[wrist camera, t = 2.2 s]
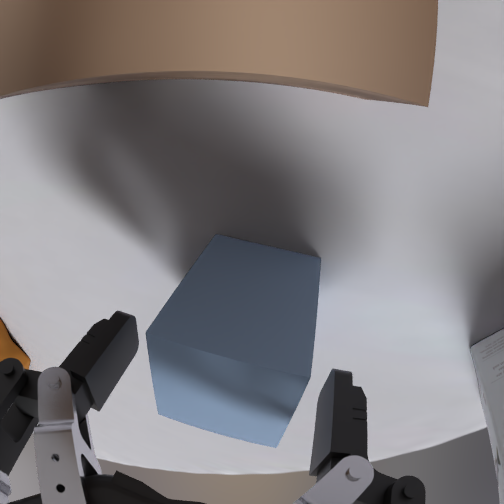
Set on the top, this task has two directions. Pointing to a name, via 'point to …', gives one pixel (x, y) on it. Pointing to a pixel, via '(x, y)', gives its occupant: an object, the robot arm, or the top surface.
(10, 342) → the coffee package
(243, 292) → the slate block
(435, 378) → the top surface
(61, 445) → the robot arm
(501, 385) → the supplement box
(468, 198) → the top surface
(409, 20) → the walnut box
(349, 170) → the top surface
